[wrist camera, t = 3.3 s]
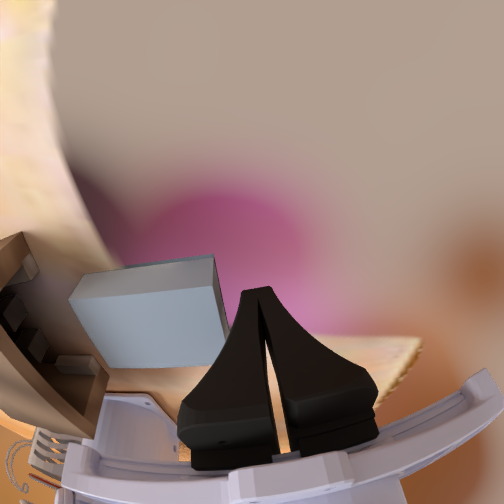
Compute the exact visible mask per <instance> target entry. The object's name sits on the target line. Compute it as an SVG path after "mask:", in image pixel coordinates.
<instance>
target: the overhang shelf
mask: <svg viewBox="0 0 504 504" xmlns="http://www.w3.org/2000/svg"><path fill="white" fill-rule="evenodd" d="M38 272H39V269H38V267H37V265H36V263H35V261H34V259H33V257H32V254H31V252H30V250H29V248H28V246H27V243H26V241H25V239H24V236H23V234H22V232H19V233H16V234H14V235H11V236H9V237H7V238H4V239H2V240H0V291H1V290H2V289H3V287H5V286H9V285H14V284H18V283H23V282H27V281H31V280H32V279H33V278H34V276H35V275H36V274H37V273H38ZM27 313H28V312H27V310H26V308H25V307H24V305H23V304H22V302H21V300H20V299H19V297H18V295H17V294H16V295H10V296H5V297H2V298H1V300H0V409H1V410H3V411H4V412H5V413H6V414H7V415H8V416H9V417H10V418H13V419H15V420H18V421H21V422H24V423H27V424H30V425H33V426H36V427H40V428H43V429H47V430H50V431H54V432H58V433H62V434H66V435H71V436H75V437H80V438H85V439H91V440H94V438H95V433H96V428H97V424H98V419H99V415H100V411H101V407H102V403H103V399H104V395H105V391H106V387H107V383H108V380H109V376H108V374H107V373H106V372H105V371H104V369H103V368H102V367H101V366H100V364H99V363H98V362H97V361H96V359H95V358H94V357H93V355H59V356H58V358H57V360H56V363H41V361H42V359H43V357H44V355H45V352H46V350H47V348H48V346H49V344H50V343H49V342H48V341H47V339H46V338H45V337H44V335H43V334H42V332H41V331H40V330H39V329H23V331H22V333H21V334H20V336H19V338H18V340H17V341H16V343H15V344H14V343H13V341H12V340H11V339H10V337H9V336H8V334H7V333H6V332H16V330H17V328H18V327H19V325H20V324H21V322H22V320H23V319H24V317H25V316H26V314H27Z"/></svg>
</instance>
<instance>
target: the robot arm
mask: <svg viewBox="0 0 504 504" xmlns="http://www.w3.org/2000/svg"><path fill="white" fill-rule="evenodd" d="M265 340H266V344H267V347H268V350H269V354H270V357H271V360H272V364H273V367H274V371H275V374H276V378H277V382H278V386H279V392H280V397H281V402H282V407H283V413H284V418H285V423H286V429H287V434H288V439H289V445H290V450H291V452H289V453H283V454H281V452H280V447H279V441H278V436H277V430H276V425H275V419H274V413H273V408H272V402H271V396H270V391H269V385H268V375H267V360H266V346H265ZM378 392H379V391H378V389H377V386H376V384H375V382H374V381H373V379H372V378H371V376H370V375H369V373H368V372H367V371H366V369H365V368H363V367H361V366H359V365H356V364H354V363H352V362H350V361H348V360H346V359H345V358H343V357H341V356H340V355H338V354H336V353H335V352H333V351H332V350H330V349H329V348H327V347H326V346H324V345H323V344H321V343H320V342H319V341H318V340H316V339H315V338H314V337H313V336H311V335H310V334H309V333H308V332H307V331H306V330H305V329H304V328H303V327H302V326H300V324H299V323H298V322H297V321H296V320H295V319H294V318H293V317H292V316H291V315H290V314H289V312H288V311H287V310H286V309H285V308H284V306H283V305H282V304H281V302H280V301H279V299H278V298H277V296H276V295H275V293H274V291H273V289H272V287H270V286H266V287H260V288H254V289H249V290H243V291H242V292H241V297H240V303H239V307H238V311H237V314H236V317H235V320H234V323H233V326H232V328H231V330H230V333H229V335H228V338H227V340H226V342H225V344H224V346H223V348H222V350H221V351H220V353H219V355H218V357H217V358H216V360H215V361H214V363H213V365H212V366H211V368H210V369H209V370H208V372H207V373H206V374H205V376H204V377H203V378H202V379H201V381H200V382H199V383H198V384H197V386H196V387H195V388H194V389H193V390H192V391H191V392H190V393H189V394H188V395H187V396H186V397H185V398H184V399H183V400H182V403H181V406H180V410H179V414H178V420H177V425H176V424H175V423H174V422H173V421H172V420H171V419H170V418H169V416H168V415H167V414H166V413H165V412H164V411H163V410H162V409H161V407H160V406H159V405H158V404H157V403H156V402H155V401H154V399H153V398H152V397H151V396H150V395H148V394H129V393H105V395H104V399H103V403H102V407H101V411H100V415H99V419H98V424H97V428H96V433H95V438H94V440H91V439H85V438H83V440H82V445H81V444H77V443H72V442H69V444H68V448H67V453H66V458H65V463H64V468H63V474H62V480H61V486H62V487H63V488H60V489H58V490H57V492H56V497H55V503H54V504H407V502H406V499H405V496H404V493H403V490H402V487H401V484H400V481H399V480H400V479H402V478H404V477H406V476H408V475H410V474H412V473H414V472H416V471H418V470H420V469H422V468H423V467H425V466H427V465H429V464H431V463H433V462H434V461H436V460H438V459H439V458H441V457H443V456H444V455H446V454H448V453H449V452H451V451H452V450H454V449H455V448H457V447H459V446H460V445H462V444H463V443H465V442H466V441H468V440H469V439H470V438H472V437H473V436H475V435H476V434H477V433H479V432H480V431H482V430H483V429H484V428H485V427H486V426H487V425H488V424H489V423H491V422H492V421H493V420H494V419H495V418H496V417H497V416H498V415H499V414H500V413H501V412H502V411H503V410H504V396H503V395H502V393H501V391H500V389H499V388H498V386H497V384H496V383H495V381H494V380H493V378H492V377H491V375H490V373H489V372H488V370H487V369H486V368H483V369H482V370H480V371H479V372H477V373H475V374H474V375H472V376H471V377H469V378H468V379H467V380H466V381H465V382H464V383H463V385H462V386H461V388H460V389H459V390H458V391H456V392H454V393H452V394H450V395H449V396H447V397H445V398H443V399H441V400H439V401H438V402H436V403H434V404H432V405H430V406H428V407H426V408H424V409H422V410H419V411H418V412H415V413H413V414H411V415H409V416H406V417H404V418H402V419H399V420H397V421H395V422H393V423H390V424H387V425H385V426H382V427H379V428H377V425H376V422H375V420H374V417H375V413H374V410H373V408H372V407H373V405H374V403H375V401H376V398H377V396H378ZM179 441H182V442H183V443H184V444H185V445H186V446H187V447H188V448H190V449H191V462H180V461H179Z"/></svg>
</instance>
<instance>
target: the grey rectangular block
mask: <svg viewBox="0 0 504 504" xmlns="http://www.w3.org/2000/svg"><path fill="white" fill-rule="evenodd" d="M118 267H119V268H120V270H113V271H105V272H98V273H90V274H84V275H83V277H82V278H81V280H80V282H79V283H78V285H77V286H76V288H75V289H74V291H73V293H72V294H71V296H70V297H69V299H68V301H69V303H70V305H71V307H72V309H73V311H74V312H75V314H76V316H77V318H78V319H79V321H80V323H81V325H82V326H83V328H84V330H85V331H86V333H87V335H88V336H89V338H90V339H91V341H92V342H93V344H94V346H95V347H96V349H97V350H98V352H99V353H100V355H101V356H102V358H103V359H104V360H105V362H106V363H107V365H108V366H109V368H172V367H191V366H205V365H213V363H214V361H215V360H216V358H217V357H218V355H219V353H220V351H221V350H222V348H223V346H224V344H225V342H226V340H227V338H228V335H229V329H228V321H227V317H226V312H225V307H224V302H223V297H222V292H221V288H220V283H219V278H218V273H217V268H216V262H215V257H214V254H207V255H199V256H192V257H184V258H177V259H169V260H162V261H154V262H147V263H140V264H133V265H125V266H118Z"/></svg>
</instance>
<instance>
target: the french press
mask: <svg viewBox="0 0 504 504" xmlns="http://www.w3.org/2000/svg"><path fill="white" fill-rule="evenodd" d="M39 430H40V431H39ZM51 438H55V439H56V441H58V442H59V443H61V444H58V443H54V442H53V441H52V439H51ZM82 440H83V438H80V437H75V436H71V435H66V434H62V433H58V432H54V431H50V430H47V429H43V428H40V427H36V429H35V432H34V436H33V439H32V440H20V441H17V442H15V443H14V444H13V445H11V447H10V448H9V450H8V452H7V456H6V460H5V464H6V470H7V474H8V477H9V478H10V480H11V482H12V483H13V485H14V486H15V487H16V488H17V489H18V490H19V491H21V492H24V493H28V489H29V486H28V484H26V483H23V486H22V489H21V488H20V486H19V485H18V484H17V482H16V480H15V478H14V475H13V470H12V463H13V457H14V455H15V454H16V452H17V451H18V450H19V449H20V448H21V447H24V446H32V448H31V452H30V456H29V460H28V464H31V466H32V467H33V468H35V469H36V470H38V471H40V472H42V473H44V474H46V475H48V476H50V477H52V478H54V479H56V480H58V481H60V482H61V480H62V474H63V468H64V464H57V463H56V462H54V461H53V460H52V459H50V458H54V459H57V460H59V461H60V462H63V463H65V458H66V453H67V451H66V450H63V449H67V448H68V444H69V442H72V443H77V444H81V445H82ZM36 441H37V442H36ZM20 442H33V444H24V445H21V446H19V447H18V448H17V449H16V450H15V452H14V453H13V455H12V458H11V462H10V466H11V474H12V477H13V479H14V481H15V483H16V484H17V486H18V487H19V488H20V489H19V488H18V487H17V486H16V485H15V484H14V482H13V481H12V479H11V477H10V475H9V471H8V463H7V460H8V457H9V454H10V451H11V449H12V448H13V447H14V446H15V445H16V444H17V443H20ZM50 447H51V448H55V449H56V450H58V451H59V452H61V453H62V454H57V453H54V452H53V451H52V450H51V448H50ZM34 449H35V451H34ZM46 460H47V461H48V462H49V463H48V462H45V461H46ZM29 477H30V478H31V479H33V480H35V481H38V482H40V483H42V484H44V485H47V486H49V487H51V488H54V489H56V490H55V492H57V490H58V489H60V488H63V487H62V486H59V485H57V484H55V483H53V482H50V481H48V480H46V479H44V478H42V477H39V476H37V475H34V474H32V473H30V474H29ZM25 485H27V488H26V491H24V486H25ZM55 497H56V496H55ZM20 503H21V504H33V503H31V502H29V501H26V500H24V499H21V500H20Z"/></svg>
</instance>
